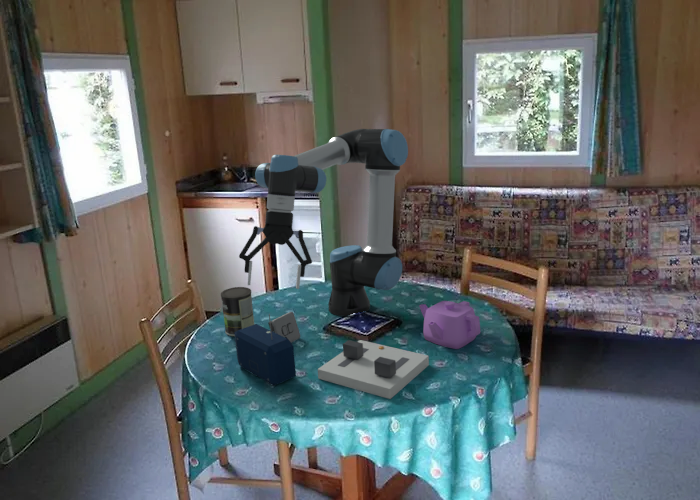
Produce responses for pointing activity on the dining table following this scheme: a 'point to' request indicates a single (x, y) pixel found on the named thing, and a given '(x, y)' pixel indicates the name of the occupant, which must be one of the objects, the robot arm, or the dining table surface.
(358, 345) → the block
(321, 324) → the dining table surface
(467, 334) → the teakettle
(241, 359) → the radio
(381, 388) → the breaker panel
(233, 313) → the coffee can
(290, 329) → the electrical switch
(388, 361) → the block
